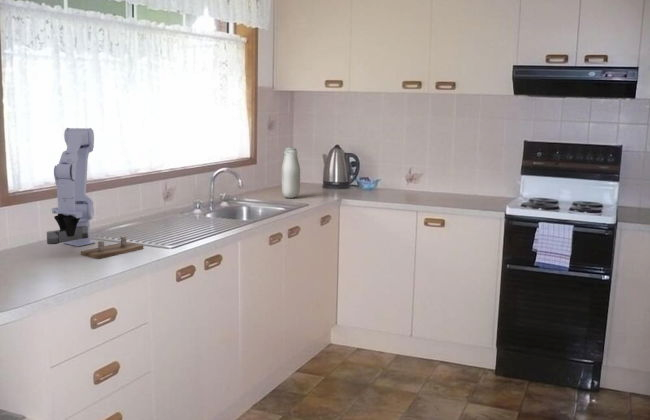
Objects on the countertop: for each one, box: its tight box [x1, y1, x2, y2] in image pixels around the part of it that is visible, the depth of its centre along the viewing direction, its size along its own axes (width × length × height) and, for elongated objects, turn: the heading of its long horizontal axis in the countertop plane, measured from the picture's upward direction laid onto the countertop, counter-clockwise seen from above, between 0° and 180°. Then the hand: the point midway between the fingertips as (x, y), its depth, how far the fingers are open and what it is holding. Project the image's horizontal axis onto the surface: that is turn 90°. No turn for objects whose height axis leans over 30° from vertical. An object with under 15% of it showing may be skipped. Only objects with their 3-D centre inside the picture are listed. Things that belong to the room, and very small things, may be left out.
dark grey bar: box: [46, 226, 88, 245], centre depth 246 cm, size 4×16×4 cm, turn 146°
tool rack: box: [80, 236, 144, 260], centre depth 252 cm, size 10×20×4 cm, turn 146°
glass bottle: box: [280, 146, 301, 199], centre depth 381 cm, size 10×10×28 cm
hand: (68, 235), depth 246 cm, fingers closed on dark grey bar, 3 cm apart
